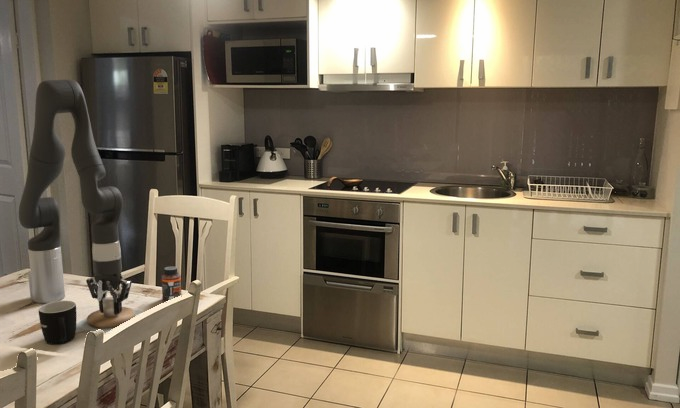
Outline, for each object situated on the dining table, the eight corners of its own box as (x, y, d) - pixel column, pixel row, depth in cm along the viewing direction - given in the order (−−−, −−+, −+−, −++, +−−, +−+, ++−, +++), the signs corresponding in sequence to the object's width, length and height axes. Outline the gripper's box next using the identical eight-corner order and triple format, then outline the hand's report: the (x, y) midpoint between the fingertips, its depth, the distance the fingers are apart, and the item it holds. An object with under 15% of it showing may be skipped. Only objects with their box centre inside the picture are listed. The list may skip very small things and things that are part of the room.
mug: (39, 339, 154) (36, 304, 152) (75, 332, 159) (72, 298, 157) (45, 356, 144) (42, 319, 142) (83, 348, 149) (80, 311, 147)
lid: (77, 325, 161) (75, 304, 159) (106, 308, 173) (104, 289, 172) (117, 330, 158) (115, 309, 156) (143, 312, 170) (142, 293, 169)
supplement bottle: (176, 305, 179) (174, 271, 177) (159, 304, 180) (157, 270, 178) (185, 299, 185) (183, 265, 183) (168, 297, 186) (166, 264, 184)
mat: (69, 330, 160) (69, 327, 160) (105, 310, 175) (105, 307, 175) (118, 336, 156) (118, 333, 156) (151, 315, 171) (151, 312, 171)
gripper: (76, 258, 160) (81, 315, 163) (120, 262, 156) (124, 320, 160) (94, 251, 167) (98, 306, 170) (136, 254, 164) (140, 310, 167)
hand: (111, 312), depth 165 cm, fingers closed on lid, 4 cm apart
